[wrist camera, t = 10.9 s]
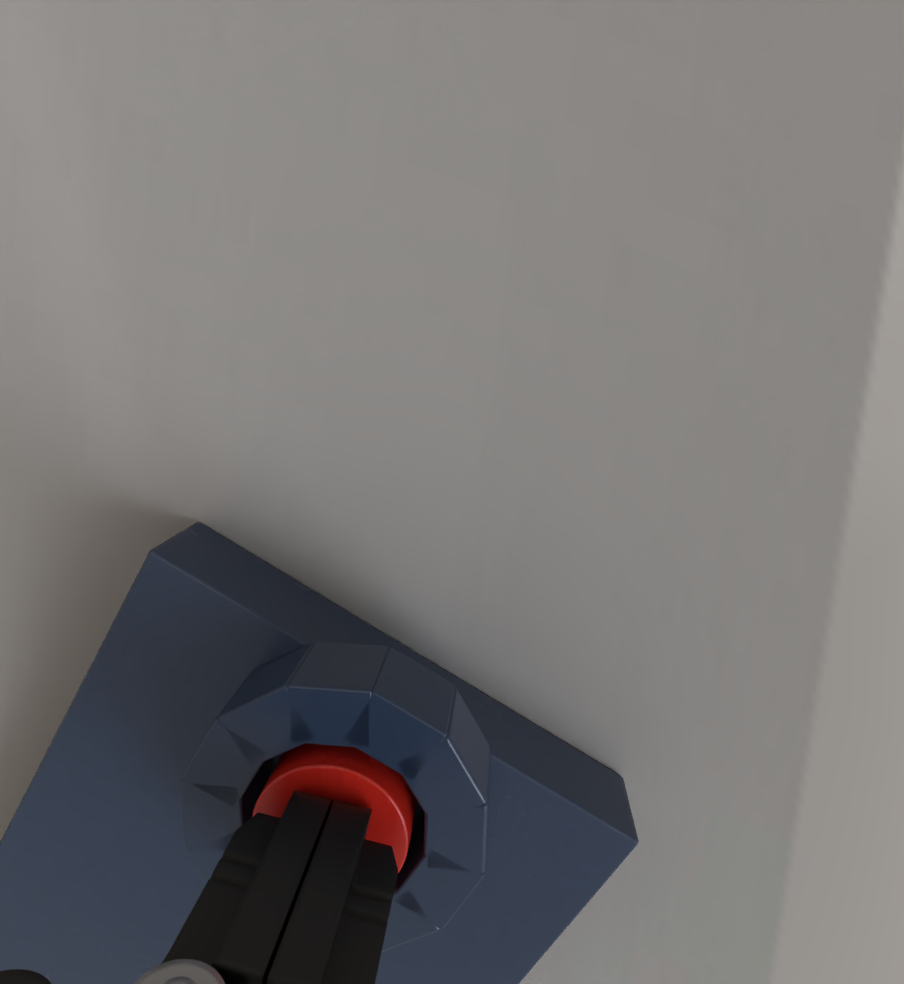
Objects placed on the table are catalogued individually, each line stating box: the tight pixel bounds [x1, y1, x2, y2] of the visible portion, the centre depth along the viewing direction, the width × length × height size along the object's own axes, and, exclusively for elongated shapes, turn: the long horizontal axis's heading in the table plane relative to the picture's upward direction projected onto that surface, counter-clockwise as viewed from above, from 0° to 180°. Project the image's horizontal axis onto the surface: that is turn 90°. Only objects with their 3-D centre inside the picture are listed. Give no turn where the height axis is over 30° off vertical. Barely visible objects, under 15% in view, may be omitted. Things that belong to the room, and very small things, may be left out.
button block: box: [0, 522, 638, 984], centre depth 16 cm, size 19×12×4 cm, turn 149°
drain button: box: [252, 743, 418, 873], centre depth 13 cm, size 3×3×2 cm
